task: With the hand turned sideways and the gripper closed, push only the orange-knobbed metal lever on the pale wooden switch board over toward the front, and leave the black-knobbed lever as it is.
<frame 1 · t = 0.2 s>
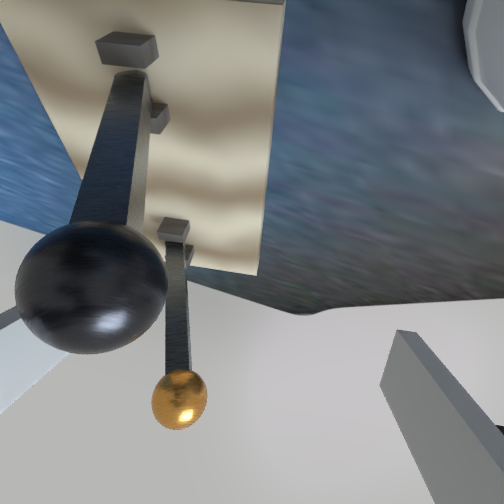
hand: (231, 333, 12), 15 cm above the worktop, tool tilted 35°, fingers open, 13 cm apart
switch board: (176, 167, 24), on the worktop
orange knob lever: (177, 313, 22), point 10 cm above the worktop, hinge at -20.0°
black knob lever: (122, 158, 11), point 10 cm above the worktop, hinge at -20.0°
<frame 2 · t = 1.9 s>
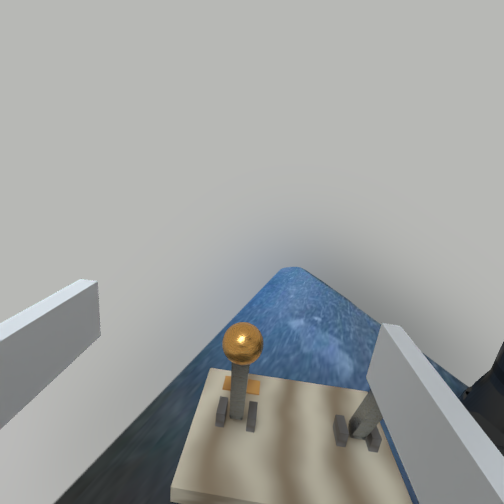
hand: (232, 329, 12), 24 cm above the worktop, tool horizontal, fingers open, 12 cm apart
switch board: (287, 441, 33), on the worktop
orange knob lever: (239, 379, 28), point 10 cm above the worktop, hinge at -20.0°
black knob lever: (378, 400, 27), point 10 cm above the worktop, hinge at -20.0°
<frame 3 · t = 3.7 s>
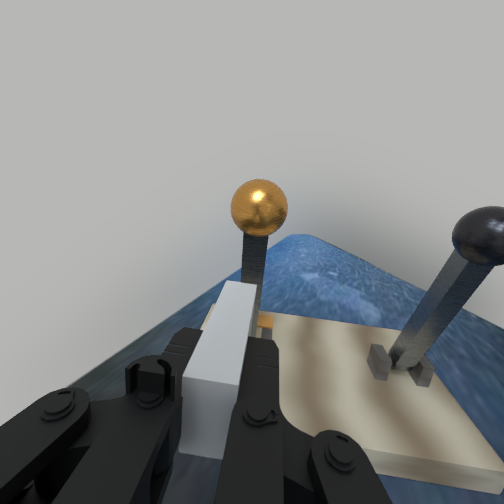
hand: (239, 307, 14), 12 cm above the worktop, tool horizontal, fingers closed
switch board: (310, 378, 26), on the worktop
orange knob lever: (252, 280, 21), point 10 cm above the worktop, hinge at -20.0°
black knob lever: (438, 306, 20), point 10 cm above the worktop, hinge at -20.0°
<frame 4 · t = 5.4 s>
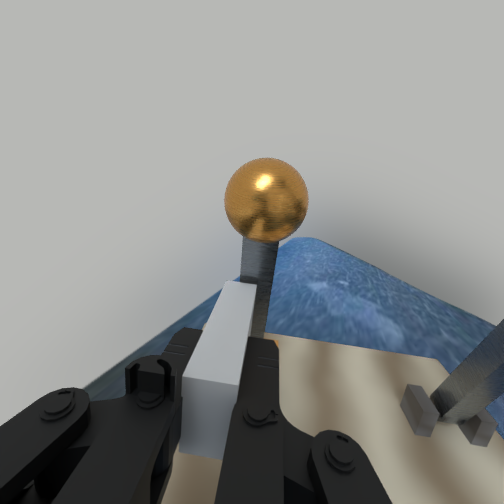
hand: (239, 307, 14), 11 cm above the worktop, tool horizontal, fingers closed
switch board: (327, 427, 20), on the worktop
orange knob lever: (254, 303, 16), point 10 cm above the worktop, hinge at -18.2°, touching gripper
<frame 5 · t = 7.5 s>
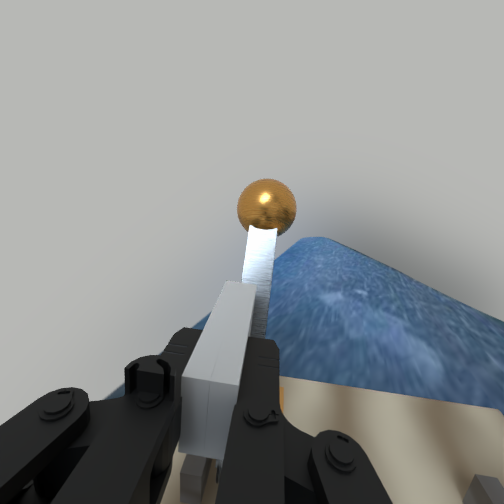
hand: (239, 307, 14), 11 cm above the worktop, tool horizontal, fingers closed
orange knob lever: (253, 313, 15), point 10 cm above the worktop, hinge at 32.4°, touching gripper
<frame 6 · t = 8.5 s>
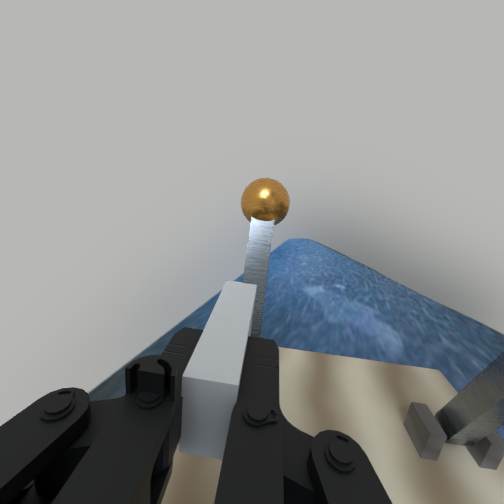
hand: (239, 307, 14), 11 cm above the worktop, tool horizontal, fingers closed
switch board: (327, 449, 19), on the worktop
orange knob lever: (253, 287, 19), point 10 cm above the worktop, hinge at 26.2°
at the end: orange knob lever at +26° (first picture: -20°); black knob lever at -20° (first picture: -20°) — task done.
